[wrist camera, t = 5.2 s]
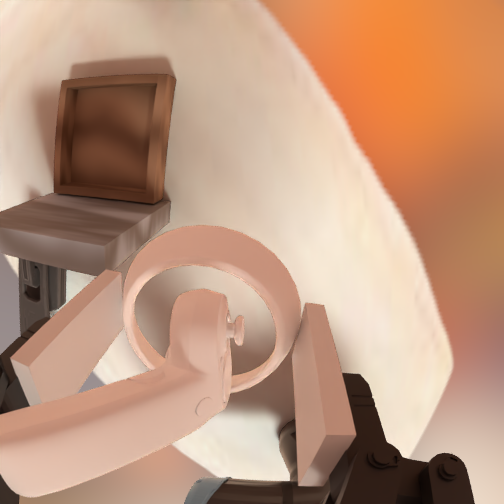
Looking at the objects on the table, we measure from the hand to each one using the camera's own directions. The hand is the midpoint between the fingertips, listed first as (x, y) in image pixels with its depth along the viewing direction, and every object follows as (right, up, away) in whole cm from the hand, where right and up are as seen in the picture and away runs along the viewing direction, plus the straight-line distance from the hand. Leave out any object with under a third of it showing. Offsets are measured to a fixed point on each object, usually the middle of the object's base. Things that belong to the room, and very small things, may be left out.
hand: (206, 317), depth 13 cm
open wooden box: (-15, +15, +21) cm, 30 cm away
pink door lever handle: (0, 0, 0) cm, 0 cm away
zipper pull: (-30, -3, +29) cm, 42 cm away
